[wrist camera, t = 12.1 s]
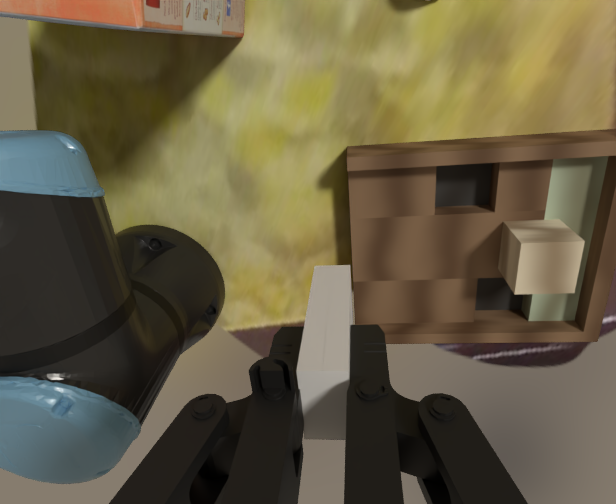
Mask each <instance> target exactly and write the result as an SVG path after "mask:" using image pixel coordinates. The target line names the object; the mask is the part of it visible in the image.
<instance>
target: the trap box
mask: <svg viewBox="0 0 616 504" xmlns="http://www.w3.org/2000/svg"><path fill="white" fill-rule="evenodd" d="M347 171H348V183H349V204H350V225H351V246H352V267H353V288H354V308H355V325H374V324H378V325H379V327H380V328H381V329H382V330H383V332H384V333H385V342H386V344H423V343H424V344H425V343H519V342H597V341H598V337H599V333H600V329H601V325H602V321H603V316H604V312H605V308H606V304H607V300H608V296H609V291H610V287H611V283H612V279H613V275H614V271H615V266H616V129H608V130H593V131H578V132H562V133H547V134H532V135H516V136H501V137H486V138H471V139H455V140H440V141H425V142H409V143H394V144H379V145H363V146H348V147H347ZM550 219H560V220H561V221H562V222H563V223H565V224H566V225H567V226H568V227H569V228H570V229H571V230H573V231H574V232H575V233H576V234H577V235H578V236H580V237H581V238H582V239H583V240H584V241H585V243H584V248H583V253H582V258H581V263H580V268H579V273H578V278H577V283H576V288H575V293H560V294H516V295H515V294H514V293H513V291H512V290H511V288H510V287H509V285H508V283H507V282H506V280H505V279H504V277H503V276H502V274H501V272H500V271H499V269H498V264H499V255H500V246H501V237H502V228H503V221H527V220H550Z"/></svg>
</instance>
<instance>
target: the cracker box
mask: <svg viewBox="0 0 616 504" xmlns="http://www.w3.org/2000/svg"><path fill="white" fill-rule="evenodd" d="M244 13H245V0H0V16H1V17H10V18H19V19H26V20H35V21H43V22H52V23H61V24H70V25H79V26H89V27H98V28H109V29H120V30H132V31H143V32H157V33H173V34H187V35H201V36H217V37H234V38H242V37H243V35H244Z"/></svg>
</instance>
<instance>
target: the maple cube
mask: <svg viewBox="0 0 616 504" xmlns="http://www.w3.org/2000/svg"><path fill="white" fill-rule="evenodd" d="M584 243H585V241H584V240H583V239H582V238H581V237H580V236H578V235H577V234H576V233H575V232H574V231H573V230H571V229H570V228H569V227H568V226H567V225H566V224H565V223H563V222H562V221H561V220H560V219H550V220H527V221H503V228H502V237H501V246H500V255H499V264H498V269H499V271H500V272H501V274H502V276H503V277H504V279H505V280H506V282H507V283H508V285H509V287H510V288H511V290H512V291H513V293H514V294H515V295H516V294H560V293H575V288H576V283H577V278H578V273H579V268H580V263H581V258H582V253H583V248H584Z"/></svg>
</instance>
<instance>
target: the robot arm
mask: <svg viewBox="0 0 616 504" xmlns="http://www.w3.org/2000/svg"><path fill="white" fill-rule="evenodd" d="M103 196H105V192H104V190H103V188H101V187H100V186H99V183H98V181H97V178H96V176H95V173H94V171H93V168H92V166H91V163H90V161H89V158H88V155H87V153H86V151H85V149H84V147H83V146H82V145H81V143H80V142H79V141H77V140H76V139H75V138H73V137H72V136H70V135H68V134H65V133H62V132H58V131H47V130H24V131H23V130H20V131H0V468H2V469H4V470H7V471H9V472H12V473H15V474H17V475H19V476H22V477H25V478H28V479H33V480H37V481H41V482H49V483H57V484H71V483H82V482H87V481H90V480H93V479H96V478H98V477H101V476H102V475H104V474H106V473H108V472H109V471H110V470H111V469H112V468H114V466H115V465H116V464H117V463H118V462H119V461H120V459H121V458H122V456H123V455H124V453H125V452H126V450H127V449H128V447H129V446H130V444H131V443H132V441H133V440H135V439H136V438H137V437H138V435H139V433H140V431H141V430H140V429H141V426H142V424H143V422H144V420H145V419H146V417H147V415H148V413H149V411H150V409H151V407H152V405H153V404H154V402H155V400H156V398H157V396H158V394H159V392H160V390H161V389H162V387H163V385H164V383H165V381H166V379H167V378H168V376H169V374H170V372H171V370H172V369H173V367H174V365H175V363H176V361H177V359H178V358H179V356H180V354H182V353H183V352H184V351H186V350H187V349H188V348H190V347H191V346H192V345H194V344H195V343H196V342H198V341H199V340H201V339H202V338H203V337H204V336H205V335H206V334H207V333H208V332H209V331H210V330H211V329H212V327H213V326H214V324H215V323H216V321H217V319H218V317H219V315H220V313H221V310H222V308H223V304H224V299H225V287H224V281H223V277H222V275H221V272H220V270H219V268H218V266H217V264H216V262H215V261H214V259H213V258H212V257H211V255H210V254H209V253H208V252H207V251H206V250H205V249H204V248H203V247H202V246H201V245H200V244H199V243H198V242H196V241H195V240H194V239H192V238H190V237H189V236H187V235H185V234H183V233H181V232H179V231H177V230H174V229H171V228H168V227H164V226H158V225H139V226H134V227H130V228H127V229H125V230H123V231H120V232H119V233H117V234H116V235H115V233H114V229H113V226H112V223H111V220H110V216H109V213H108V210H107V206H106V203H105V200H104V197H103ZM249 375H250V381H251V386H252V391H253V392H252V394H251V395H250V396H248V397H246V398H243V399H240V400H237V401H233V402H229V403H226V401H225V400H224V399H223V398H222V397H221V396H219V395H216V394H205V395H201V396H198V397H196V398H194V399H192V400H191V401H189V403H187V404H186V405H185V406H184V408H183V409H182V410H181V411H180V413H179V414H178V415H177V417H176V418H175V419H174V420H173V422H172V423H171V424H170V426H169V427H168V428H167V430H166V431H165V432H164V433H163V435H162V436H161V437H160V439H159V440H158V441H157V442H156V444H155V445H154V446H153V448H152V449H151V450H150V452H149V453H148V454H147V455H146V457H145V458H144V459H143V460H142V462H141V463H140V464H139V466H138V467H137V468H136V470H135V471H134V472H133V473H132V475H131V476H130V477H129V478H128V480H127V481H126V482H125V484H124V485H123V486H122V488H121V489H120V490H119V491H118V493H117V494H116V496H115V497H114V498H113V499H112V500H111V502H110V503H109V504H297V503H298V495H299V486H300V477H301V470H302V462H303V447H302V438H303V430H304V438H305V439H326V440H327V439H328V440H346V447H345V490H344V504H404V501H403V492H402V481H401V472H404V473H407V474H410V475H413V476H416V477H417V480H418V483H419V485H420V488H421V490H422V493H423V495H424V497H425V500H426V502H427V504H527V502H526V500H525V499H524V497H523V495H522V494H521V492H520V491H519V489H518V488H517V486H516V484H515V483H514V481H513V480H512V478H511V477H510V475H509V473H508V472H507V470H506V469H505V467H504V466H503V464H502V463H501V461H500V459H499V458H498V456H497V455H496V453H495V452H494V450H493V448H492V447H491V445H490V444H489V442H488V441H487V439H486V438H485V436H484V435H483V433H482V431H481V430H480V428H479V427H478V425H477V423H476V422H475V420H474V419H473V417H472V416H471V414H470V412H469V411H468V409H467V408H466V406H465V405H464V404H463V403H462V402H461V401H460V400H458V399H457V398H455V397H453V396H451V395H446V394H443V393H440V394H431V395H428V396H425V397H424V398H423V399H422V400H421V401H420V402H417V401H414V400H410V399H407V398H405V397H403V396H401V395H399V394H398V393H397V392H396V391H394V389H393V388H392V386H391V384H390V380H389V371H388V361H387V352H386V342H385V333H384V332H383V330H382V329H381V328H380V327H379V325H378V324H374V325H353V311H352V290H351V270H350V265H332V266H315V267H314V273H313V278H312V284H311V290H310V296H309V301H308V307H307V313H306V319H305V324H304V327H281V329H280V330H279V331H278V332H277V333H276V334H275V335H274V338H273V342H272V347H271V349H270V354H269V357H265V358H263V359H260V360H258V361H257V362H256V363H254V364H253V365H252V366H251V368H250V369H249ZM400 471H401V472H400Z"/></svg>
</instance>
